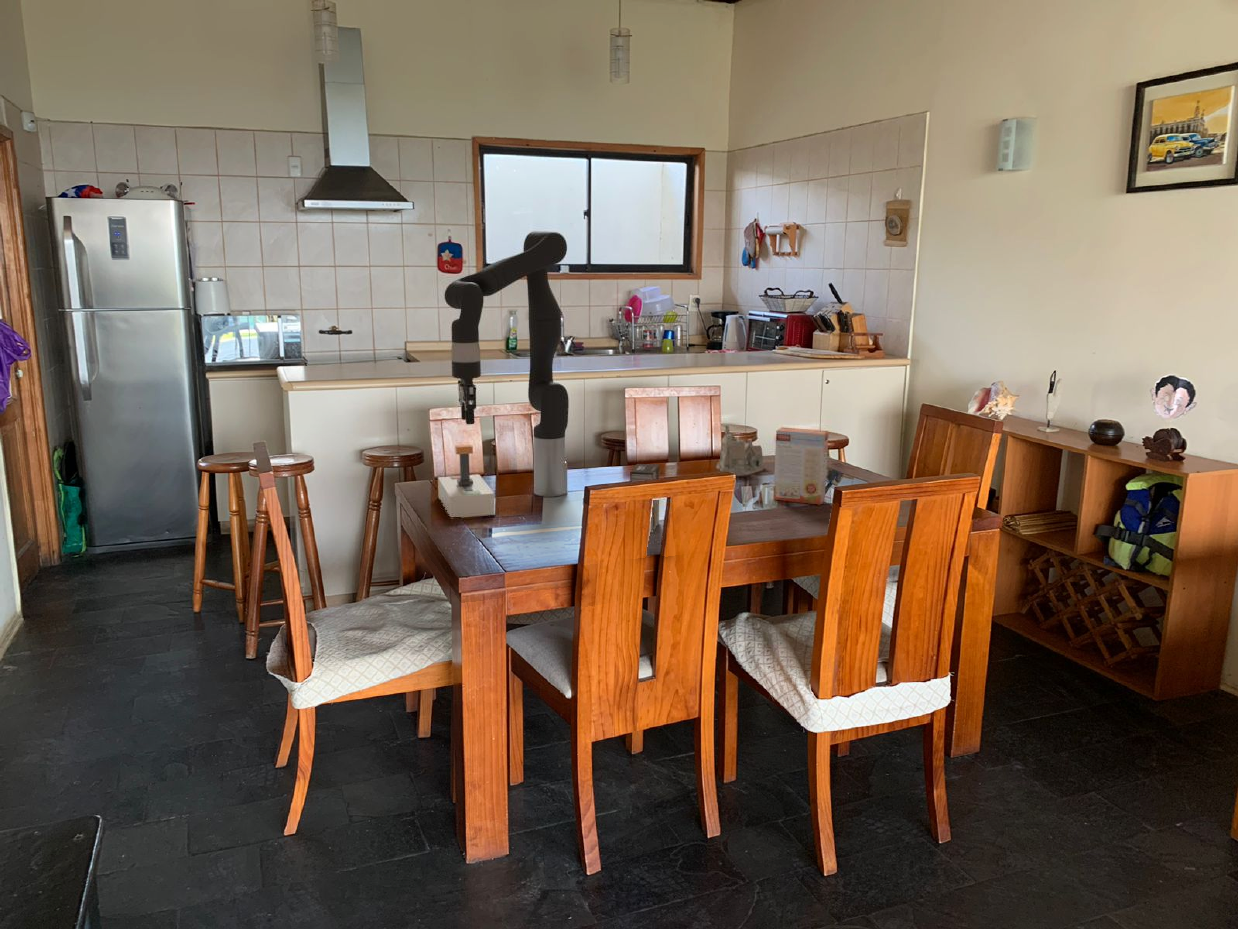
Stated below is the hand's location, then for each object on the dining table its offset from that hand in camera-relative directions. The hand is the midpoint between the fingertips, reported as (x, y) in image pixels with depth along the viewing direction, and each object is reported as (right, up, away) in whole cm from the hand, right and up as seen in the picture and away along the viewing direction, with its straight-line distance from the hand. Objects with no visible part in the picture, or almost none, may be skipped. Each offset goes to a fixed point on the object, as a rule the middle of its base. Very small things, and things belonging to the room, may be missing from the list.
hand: (467, 421), depth 248 cm
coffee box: (+47, -28, -5) cm, 55 cm away
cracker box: (+93, -22, +22) cm, 98 cm away
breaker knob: (-3, -17, +12) cm, 21 cm away
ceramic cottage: (+80, -14, +57) cm, 100 cm away
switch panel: (-3, -23, +13) cm, 27 cm away
